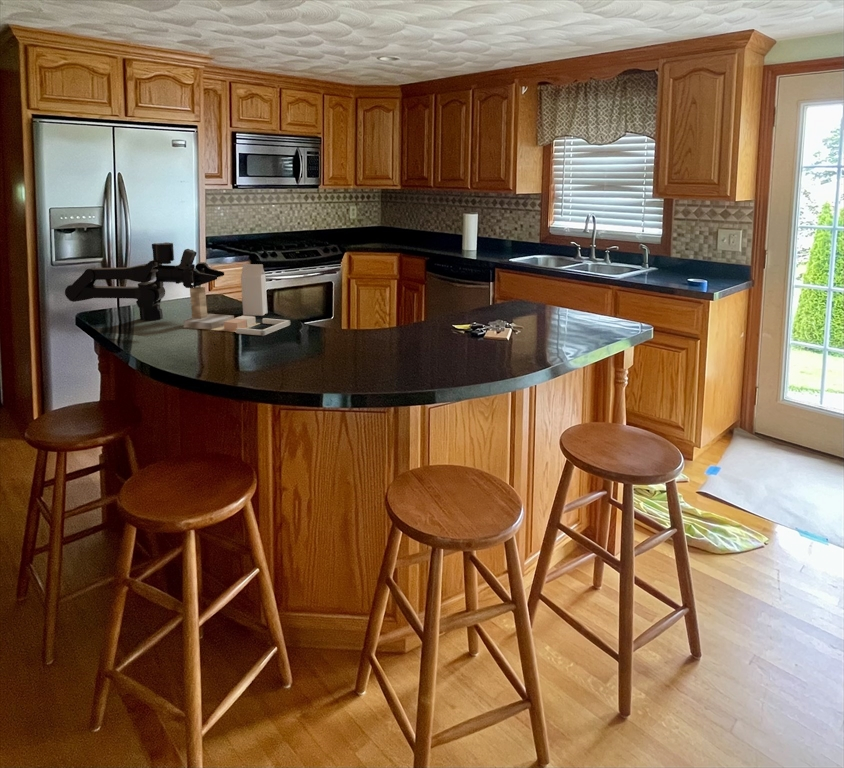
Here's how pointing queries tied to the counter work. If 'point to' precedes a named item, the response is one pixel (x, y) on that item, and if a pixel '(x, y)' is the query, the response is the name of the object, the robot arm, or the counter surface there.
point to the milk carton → (253, 289)
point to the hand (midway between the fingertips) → (220, 275)
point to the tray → (268, 330)
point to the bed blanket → (203, 312)
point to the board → (225, 330)
